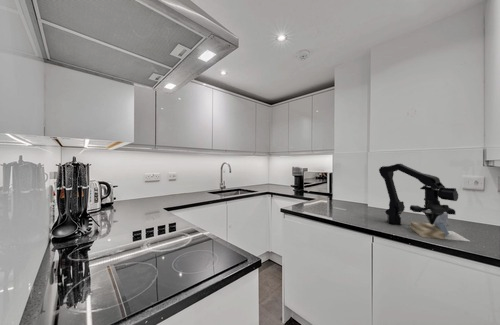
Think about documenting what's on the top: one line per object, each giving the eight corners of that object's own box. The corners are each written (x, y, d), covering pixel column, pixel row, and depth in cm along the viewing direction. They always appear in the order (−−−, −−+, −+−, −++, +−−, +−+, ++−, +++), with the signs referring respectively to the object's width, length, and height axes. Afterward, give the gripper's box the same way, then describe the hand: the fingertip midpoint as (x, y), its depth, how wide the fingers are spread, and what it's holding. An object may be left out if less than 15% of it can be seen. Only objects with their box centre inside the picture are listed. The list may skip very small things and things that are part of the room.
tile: (438, 224, 107) (443, 223, 106) (432, 222, 113) (437, 221, 112) (444, 235, 106) (449, 234, 105) (438, 232, 112) (443, 231, 111)
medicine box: (448, 226, 122) (448, 212, 122) (440, 225, 123) (440, 212, 123) (438, 222, 130) (438, 209, 130) (431, 221, 131) (431, 209, 131)
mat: (445, 239, 103) (445, 238, 103) (431, 230, 116) (431, 229, 116) (470, 241, 100) (470, 241, 100) (453, 232, 113) (453, 231, 113)
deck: (421, 236, 107) (421, 229, 107) (410, 228, 120) (410, 221, 120) (444, 239, 103) (444, 231, 103) (430, 229, 116) (430, 223, 116)
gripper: (418, 199, 106) (418, 227, 106) (462, 201, 99) (462, 231, 100) (409, 195, 117) (409, 221, 117) (449, 197, 110) (449, 224, 110)
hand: (431, 224), depth 111 cm, fingers closed
